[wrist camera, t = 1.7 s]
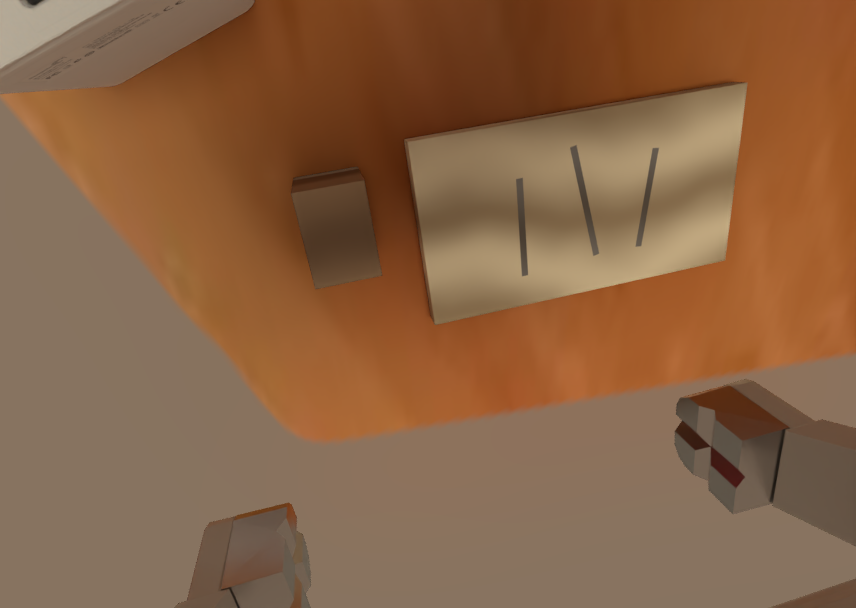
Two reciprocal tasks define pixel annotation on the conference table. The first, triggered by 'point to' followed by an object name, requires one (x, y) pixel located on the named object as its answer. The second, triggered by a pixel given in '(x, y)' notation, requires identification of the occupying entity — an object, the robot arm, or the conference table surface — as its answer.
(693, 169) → the board
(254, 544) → the robot arm
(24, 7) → the hard drive
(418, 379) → the conference table surface
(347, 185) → the block
